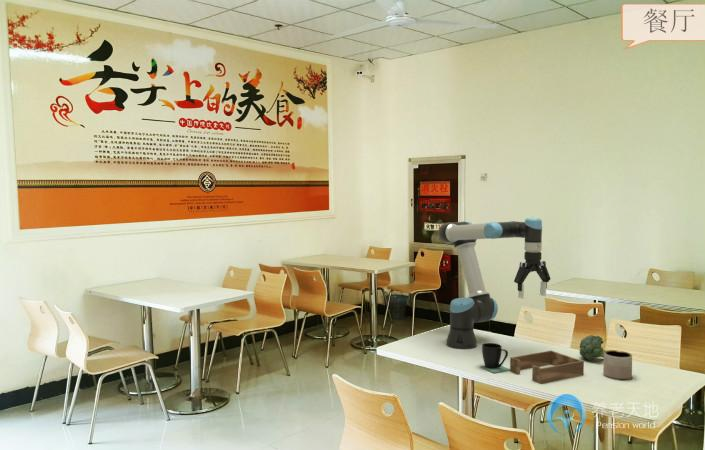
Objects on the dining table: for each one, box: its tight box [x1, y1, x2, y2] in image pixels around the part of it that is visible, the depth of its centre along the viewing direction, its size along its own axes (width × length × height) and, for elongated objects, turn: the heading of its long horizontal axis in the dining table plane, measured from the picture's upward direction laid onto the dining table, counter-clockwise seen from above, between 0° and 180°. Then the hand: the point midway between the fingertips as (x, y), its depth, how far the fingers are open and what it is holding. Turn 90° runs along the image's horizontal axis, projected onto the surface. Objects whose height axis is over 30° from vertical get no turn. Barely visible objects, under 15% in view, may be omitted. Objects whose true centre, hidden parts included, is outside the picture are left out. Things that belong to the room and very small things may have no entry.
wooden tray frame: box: [509, 350, 585, 385], centre depth 235 cm, size 18×24×6 cm
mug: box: [481, 342, 509, 369], centre depth 240 cm, size 8×12×10 cm
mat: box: [479, 365, 511, 374], centre depth 240 cm, size 9×9×1 cm
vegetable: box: [579, 334, 608, 362], centre depth 254 cm, size 12×13×15 cm
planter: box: [602, 349, 633, 381], centre depth 231 cm, size 11×11×10 cm
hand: (532, 296), depth 256 cm, fingers open, 13 cm apart
